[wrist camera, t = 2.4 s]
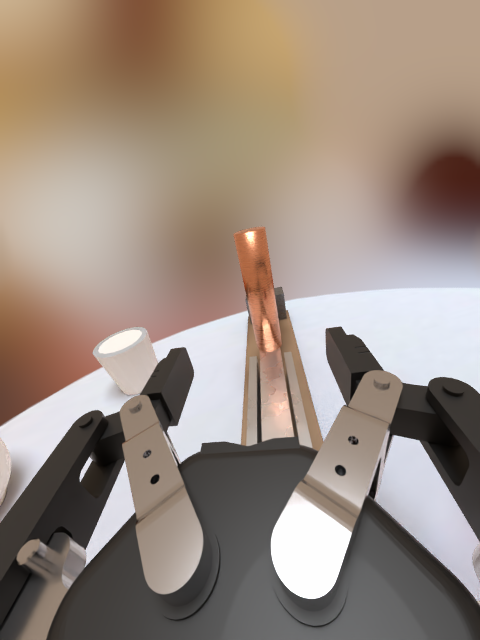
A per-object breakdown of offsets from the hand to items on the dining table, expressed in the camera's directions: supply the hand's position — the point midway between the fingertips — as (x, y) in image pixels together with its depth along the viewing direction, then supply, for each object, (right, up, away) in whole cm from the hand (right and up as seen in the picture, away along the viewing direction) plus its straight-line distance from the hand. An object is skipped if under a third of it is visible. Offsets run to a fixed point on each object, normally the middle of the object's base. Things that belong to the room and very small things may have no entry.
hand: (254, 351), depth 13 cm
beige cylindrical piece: (-15, -7, +20) cm, 26 cm away
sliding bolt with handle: (+3, -5, +12) cm, 13 cm away
